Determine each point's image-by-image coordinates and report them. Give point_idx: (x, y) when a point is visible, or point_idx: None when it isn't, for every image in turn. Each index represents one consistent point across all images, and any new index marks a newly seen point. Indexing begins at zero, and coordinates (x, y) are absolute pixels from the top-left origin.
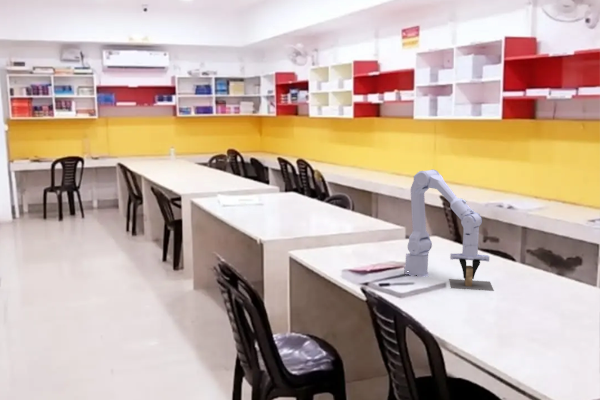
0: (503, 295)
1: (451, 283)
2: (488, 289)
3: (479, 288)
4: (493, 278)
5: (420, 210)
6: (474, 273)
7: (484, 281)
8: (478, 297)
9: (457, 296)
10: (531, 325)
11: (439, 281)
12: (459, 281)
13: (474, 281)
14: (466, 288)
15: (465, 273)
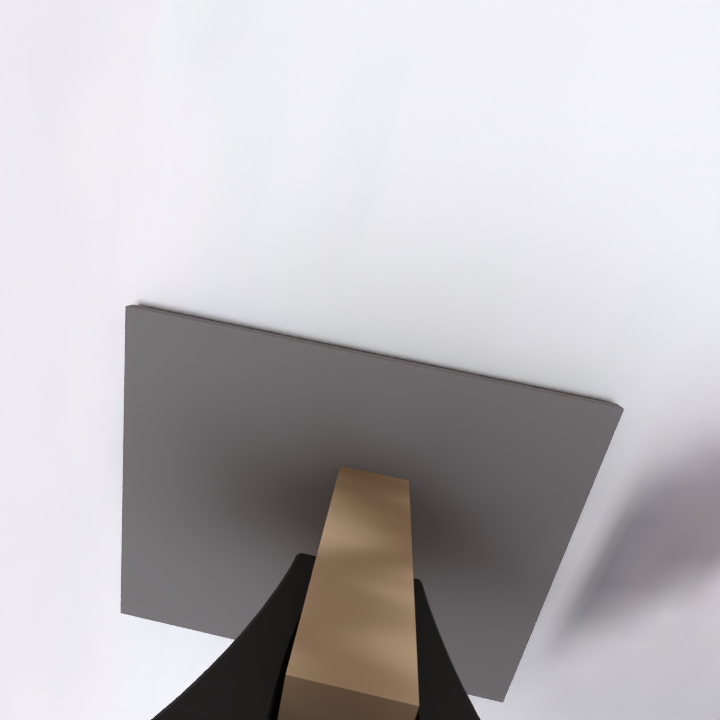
0: (49, 188)
1: (536, 571)
2: (179, 357)
3: (273, 395)
4: (81, 706)
5: None
6: (271, 607)
7: (170, 616)
8: (371, 70)
9: (654, 98)
10: None
11: (609, 665)
12: None
13: None
14: (428, 393)
15: None
